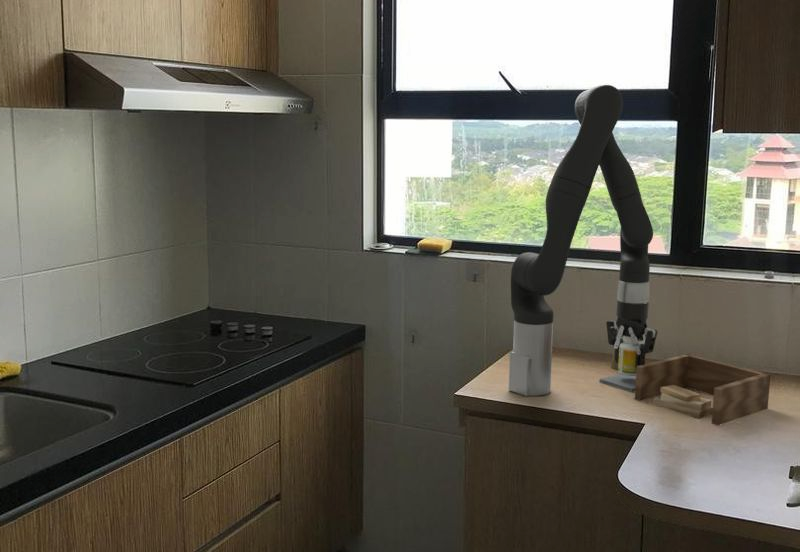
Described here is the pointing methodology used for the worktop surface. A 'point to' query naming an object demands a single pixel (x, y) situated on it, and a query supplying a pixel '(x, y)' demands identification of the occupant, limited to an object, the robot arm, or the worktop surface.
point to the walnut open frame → (707, 384)
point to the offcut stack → (683, 401)
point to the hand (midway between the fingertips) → (629, 365)
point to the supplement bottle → (627, 357)
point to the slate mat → (620, 381)
